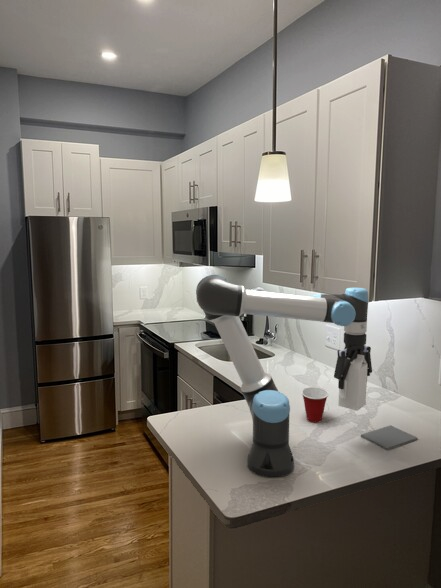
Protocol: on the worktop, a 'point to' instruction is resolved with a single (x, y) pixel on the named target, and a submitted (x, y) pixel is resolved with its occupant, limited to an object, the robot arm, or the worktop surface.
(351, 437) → the worktop surface
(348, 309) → the robot arm
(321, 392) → the plastic cup
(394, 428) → the gray mat
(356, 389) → the milk carton
